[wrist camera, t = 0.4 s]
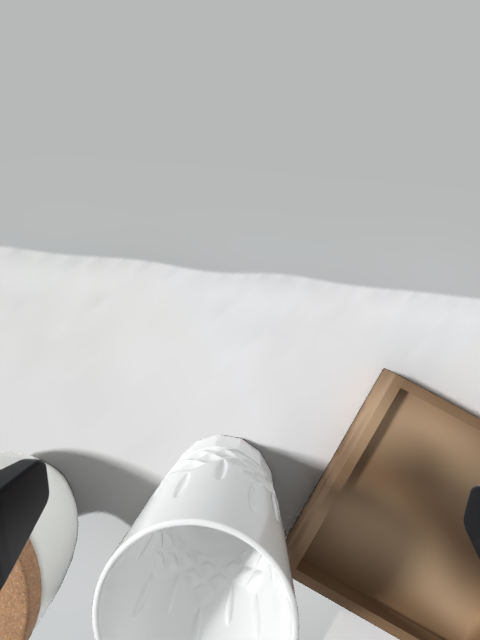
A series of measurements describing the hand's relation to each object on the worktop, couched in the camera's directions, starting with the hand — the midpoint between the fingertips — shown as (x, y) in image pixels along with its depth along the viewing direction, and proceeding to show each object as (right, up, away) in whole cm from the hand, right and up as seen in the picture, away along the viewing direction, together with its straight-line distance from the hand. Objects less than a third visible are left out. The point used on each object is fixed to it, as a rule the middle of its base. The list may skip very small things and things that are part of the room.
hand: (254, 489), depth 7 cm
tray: (+11, -9, +15) cm, 21 cm away
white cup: (-1, -7, +16) cm, 17 cm away
